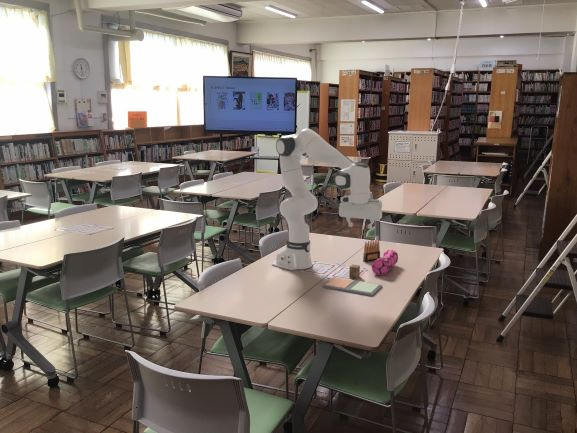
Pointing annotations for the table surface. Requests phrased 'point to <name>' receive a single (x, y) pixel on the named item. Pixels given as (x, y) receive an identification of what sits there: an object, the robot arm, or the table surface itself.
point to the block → (354, 271)
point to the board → (352, 286)
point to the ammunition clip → (371, 251)
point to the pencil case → (385, 262)
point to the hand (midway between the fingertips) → (360, 227)
